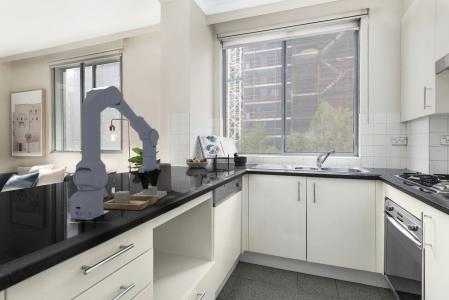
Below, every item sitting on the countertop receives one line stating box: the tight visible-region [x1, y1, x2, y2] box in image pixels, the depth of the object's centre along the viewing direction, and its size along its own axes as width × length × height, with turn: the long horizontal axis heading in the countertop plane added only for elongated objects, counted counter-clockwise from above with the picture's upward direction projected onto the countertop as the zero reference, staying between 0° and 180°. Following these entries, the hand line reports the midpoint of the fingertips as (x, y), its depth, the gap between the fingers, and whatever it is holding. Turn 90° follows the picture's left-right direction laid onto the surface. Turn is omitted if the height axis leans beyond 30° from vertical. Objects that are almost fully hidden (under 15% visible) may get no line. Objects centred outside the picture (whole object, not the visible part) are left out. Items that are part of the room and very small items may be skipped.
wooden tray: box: [103, 194, 159, 211], centre depth 92 cm, size 14×15×2 cm
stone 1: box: [113, 190, 131, 204], centre depth 92 cm, size 4×4×4 cm
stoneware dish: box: [131, 190, 168, 200], centre depth 104 cm, size 11×11×2 cm
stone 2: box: [142, 185, 157, 196], centre depth 104 cm, size 4×4×4 cm
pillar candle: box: [156, 162, 172, 193], centre depth 119 cm, size 10×10×15 cm
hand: (149, 187), depth 104 cm, fingers open, 7 cm apart
